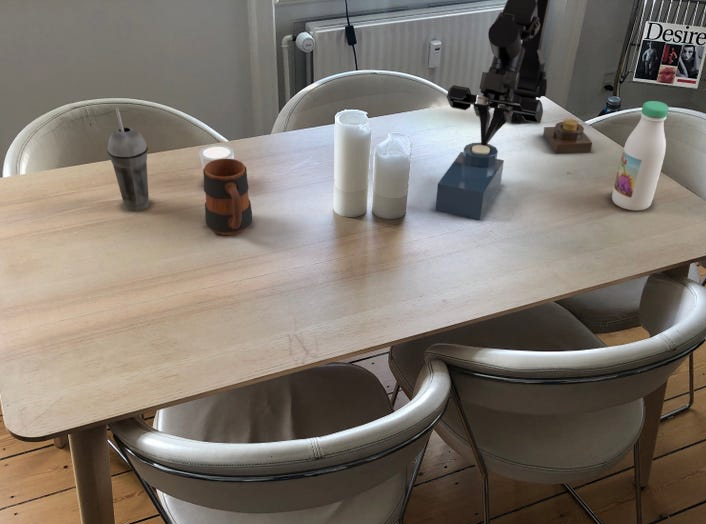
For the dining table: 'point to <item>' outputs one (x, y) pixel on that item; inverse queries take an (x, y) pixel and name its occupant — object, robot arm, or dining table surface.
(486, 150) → the white short cylinder
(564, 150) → the switch block
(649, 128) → the milk bottle
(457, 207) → the blue push button box
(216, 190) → the mug
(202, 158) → the shot glass
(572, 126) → the brass button
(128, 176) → the beverage cup
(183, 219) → the dining table surface
